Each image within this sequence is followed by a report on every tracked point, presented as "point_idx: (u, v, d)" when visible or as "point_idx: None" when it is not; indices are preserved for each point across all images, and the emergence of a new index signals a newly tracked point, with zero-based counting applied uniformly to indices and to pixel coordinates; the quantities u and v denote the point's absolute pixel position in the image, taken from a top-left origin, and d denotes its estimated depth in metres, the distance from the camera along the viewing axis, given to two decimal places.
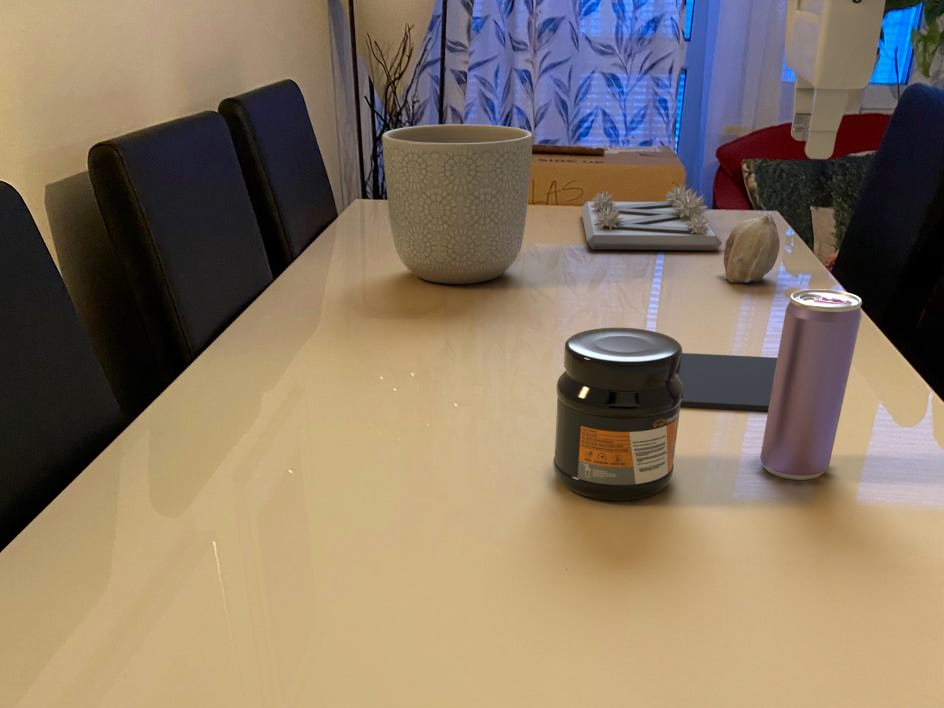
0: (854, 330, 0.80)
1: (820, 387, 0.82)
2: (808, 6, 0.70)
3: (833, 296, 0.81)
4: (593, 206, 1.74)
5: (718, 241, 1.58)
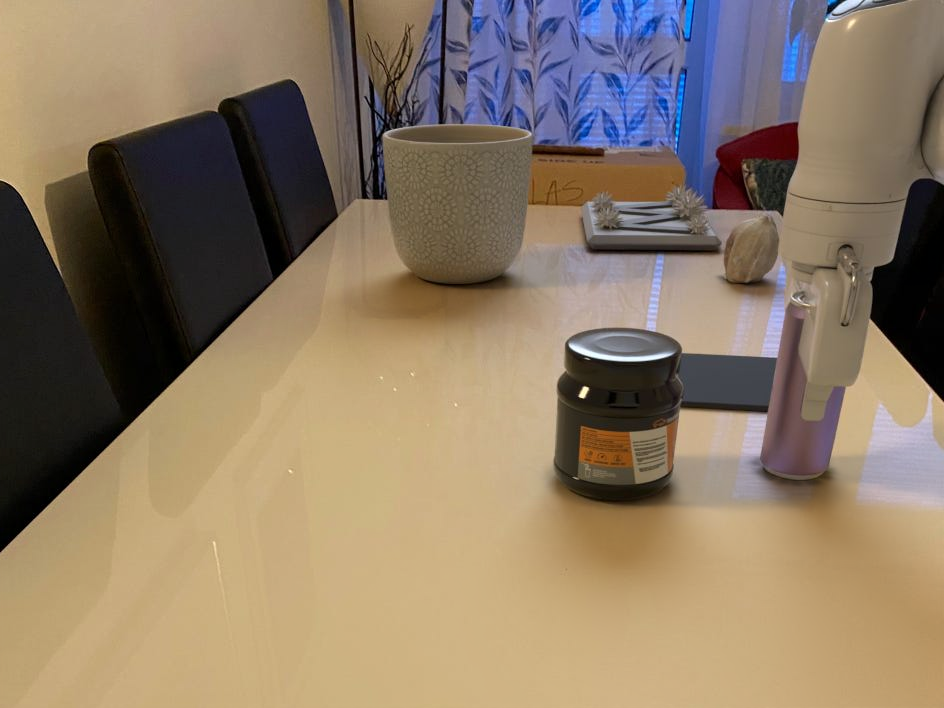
0: None
1: None
2: (804, 291, 0.82)
3: None
4: (593, 206, 1.74)
5: (718, 241, 1.58)
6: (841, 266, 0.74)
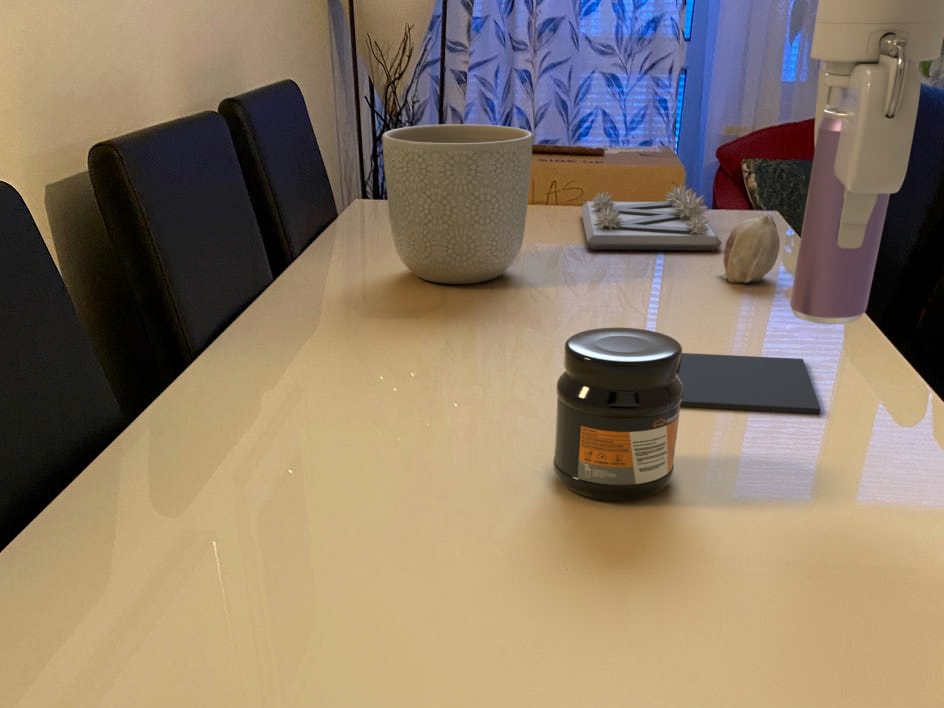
0: None
1: None
2: (839, 106, 0.75)
3: None
4: (593, 206, 1.74)
5: (718, 241, 1.58)
6: (884, 55, 0.66)
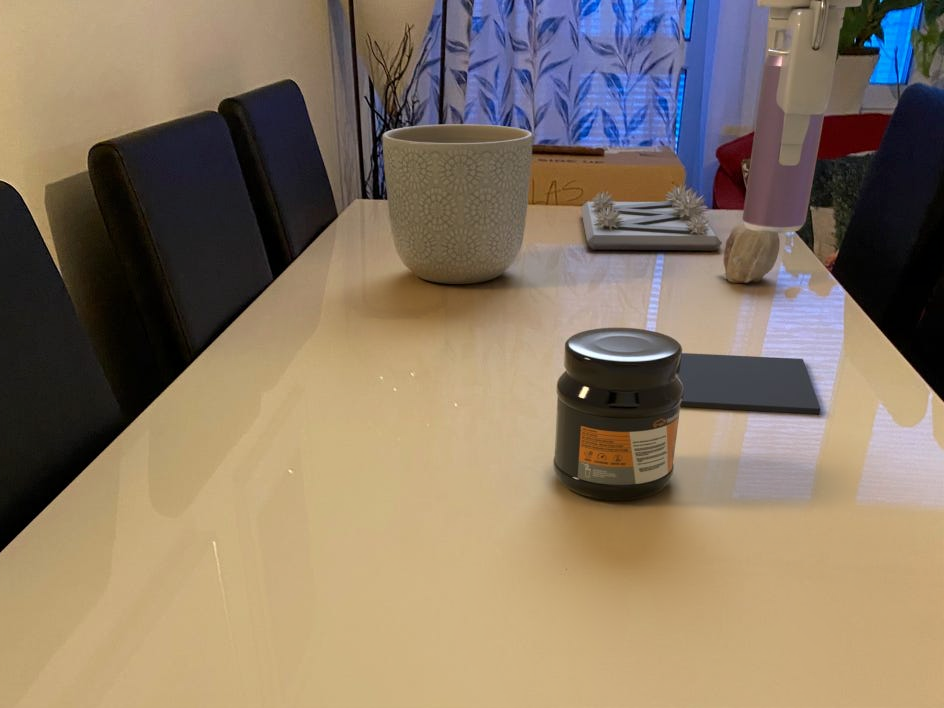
0: None
1: None
2: (781, 47, 0.90)
3: None
4: (593, 206, 1.74)
5: (718, 241, 1.58)
6: (813, 0, 0.82)
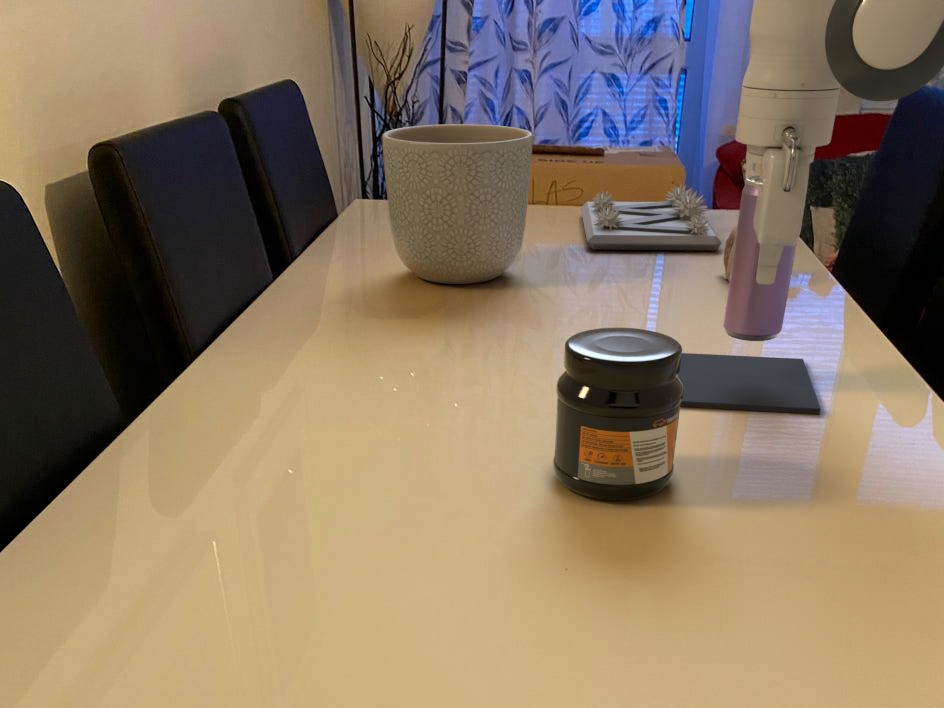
0: None
1: None
2: (758, 175, 0.97)
3: None
4: (593, 206, 1.74)
5: (718, 241, 1.58)
6: (785, 144, 0.89)
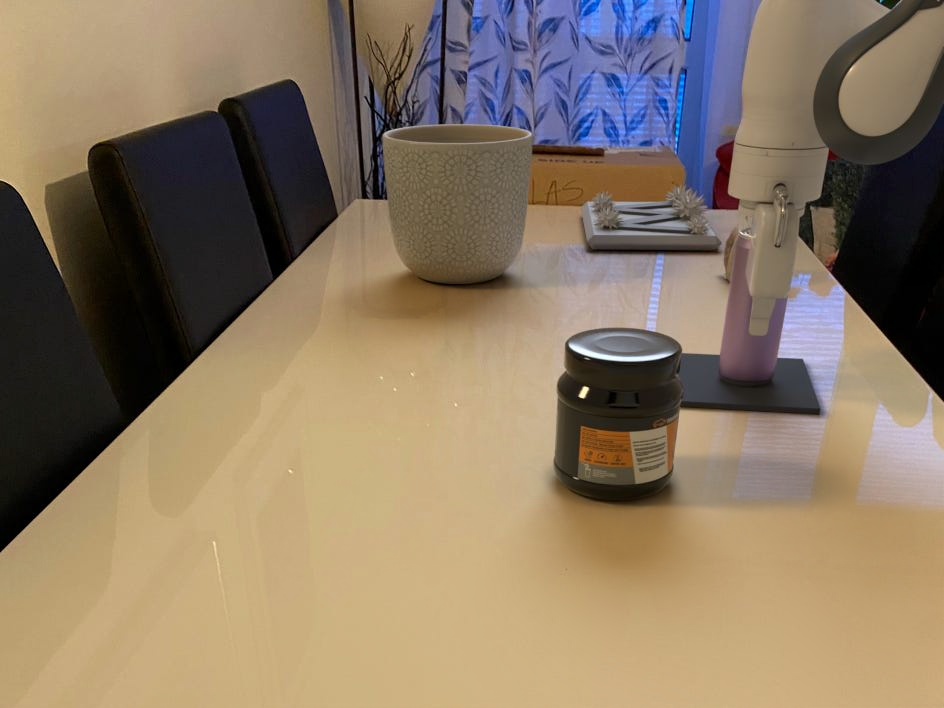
0: None
1: None
2: (751, 226, 1.00)
3: None
4: (593, 206, 1.74)
5: (718, 241, 1.58)
6: (775, 200, 0.92)
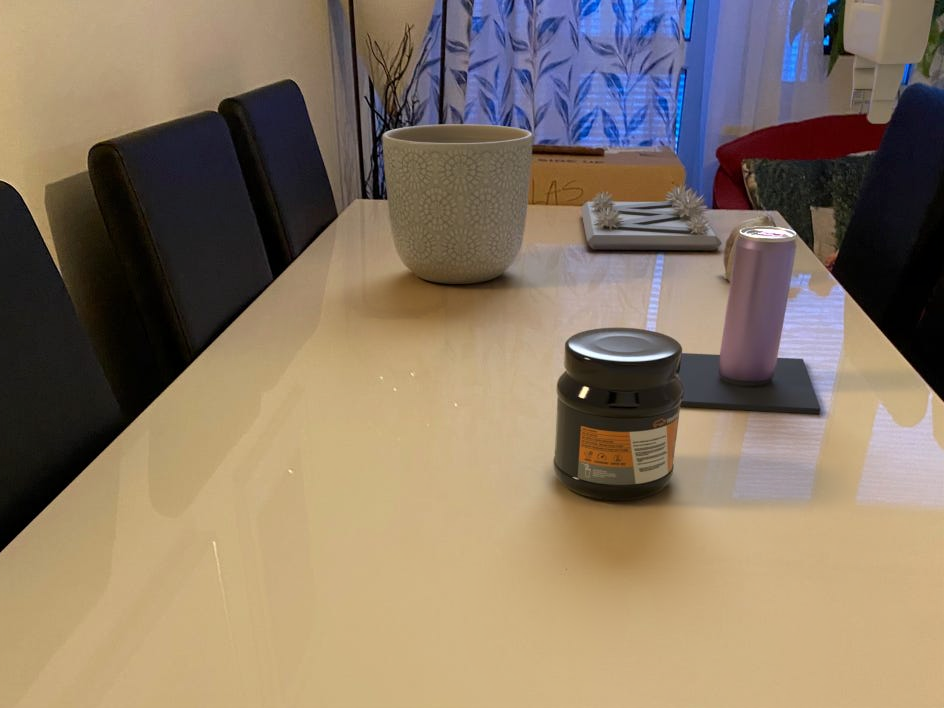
0: (790, 258, 0.98)
1: (763, 306, 1.00)
2: None
3: (774, 231, 0.99)
4: (593, 206, 1.74)
5: (718, 241, 1.58)
6: None
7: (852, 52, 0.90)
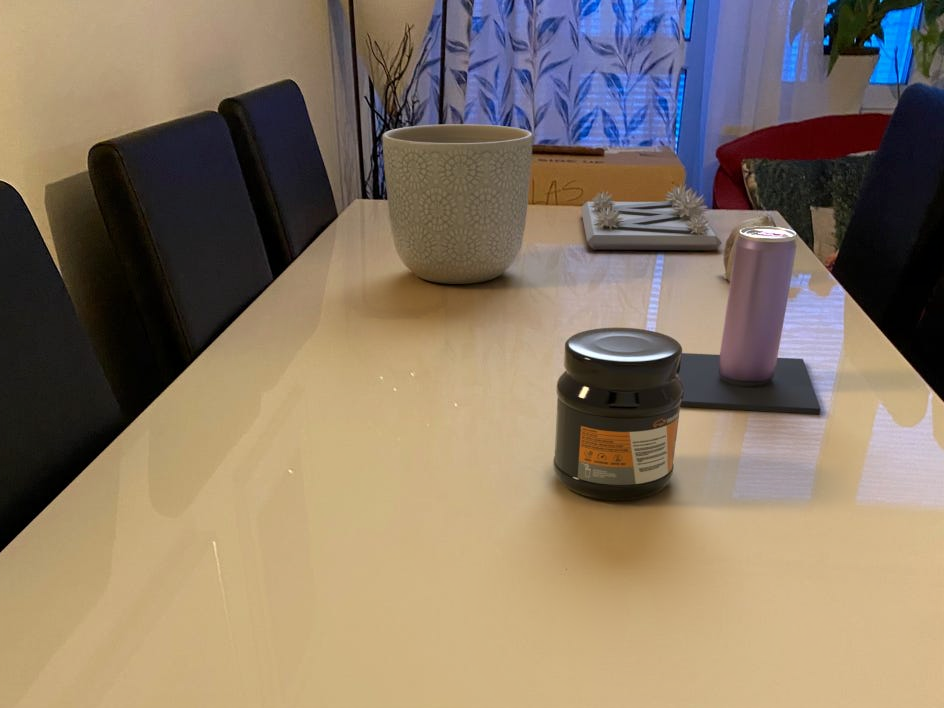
0: (790, 258, 0.98)
1: (763, 306, 1.00)
2: None
3: (774, 231, 0.99)
4: (593, 206, 1.74)
5: (718, 241, 1.58)
6: None
7: None
